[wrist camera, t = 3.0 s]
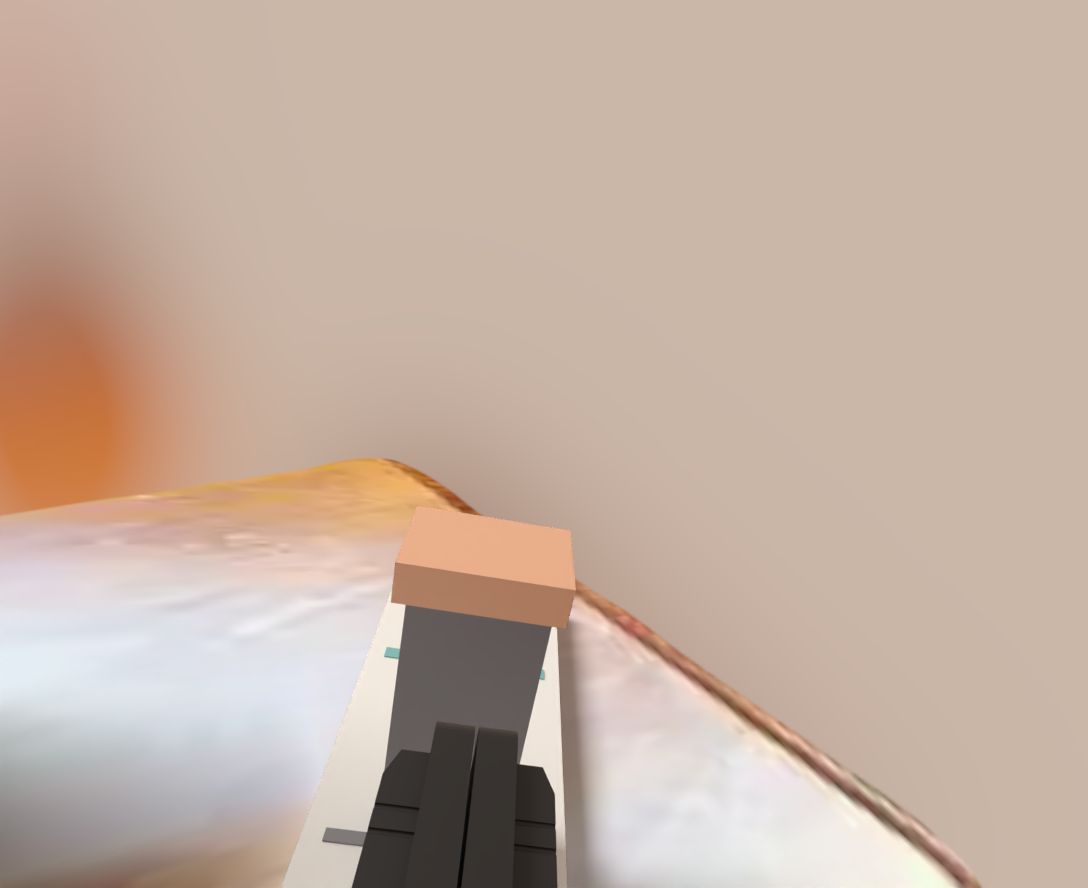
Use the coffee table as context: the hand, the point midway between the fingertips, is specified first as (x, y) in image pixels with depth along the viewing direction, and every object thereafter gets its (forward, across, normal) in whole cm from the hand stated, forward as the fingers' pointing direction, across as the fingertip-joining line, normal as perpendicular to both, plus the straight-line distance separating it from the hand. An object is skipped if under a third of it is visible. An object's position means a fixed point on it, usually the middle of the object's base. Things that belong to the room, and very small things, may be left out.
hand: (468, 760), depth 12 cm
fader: (+11, 0, +18) cm, 21 cm away
